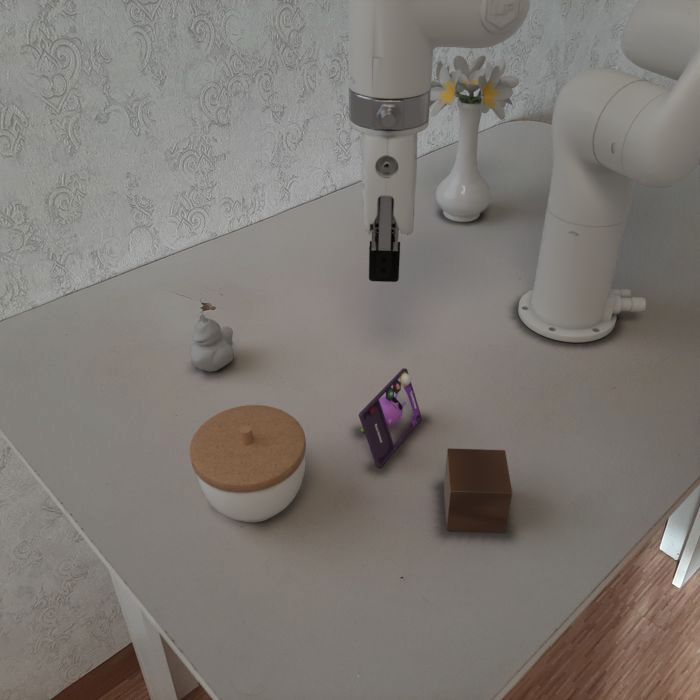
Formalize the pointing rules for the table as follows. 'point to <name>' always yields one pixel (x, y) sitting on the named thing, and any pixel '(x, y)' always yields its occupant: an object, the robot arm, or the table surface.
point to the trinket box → (249, 461)
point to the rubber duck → (211, 345)
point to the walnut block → (477, 490)
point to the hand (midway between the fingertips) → (383, 277)
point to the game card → (388, 417)
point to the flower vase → (469, 130)
